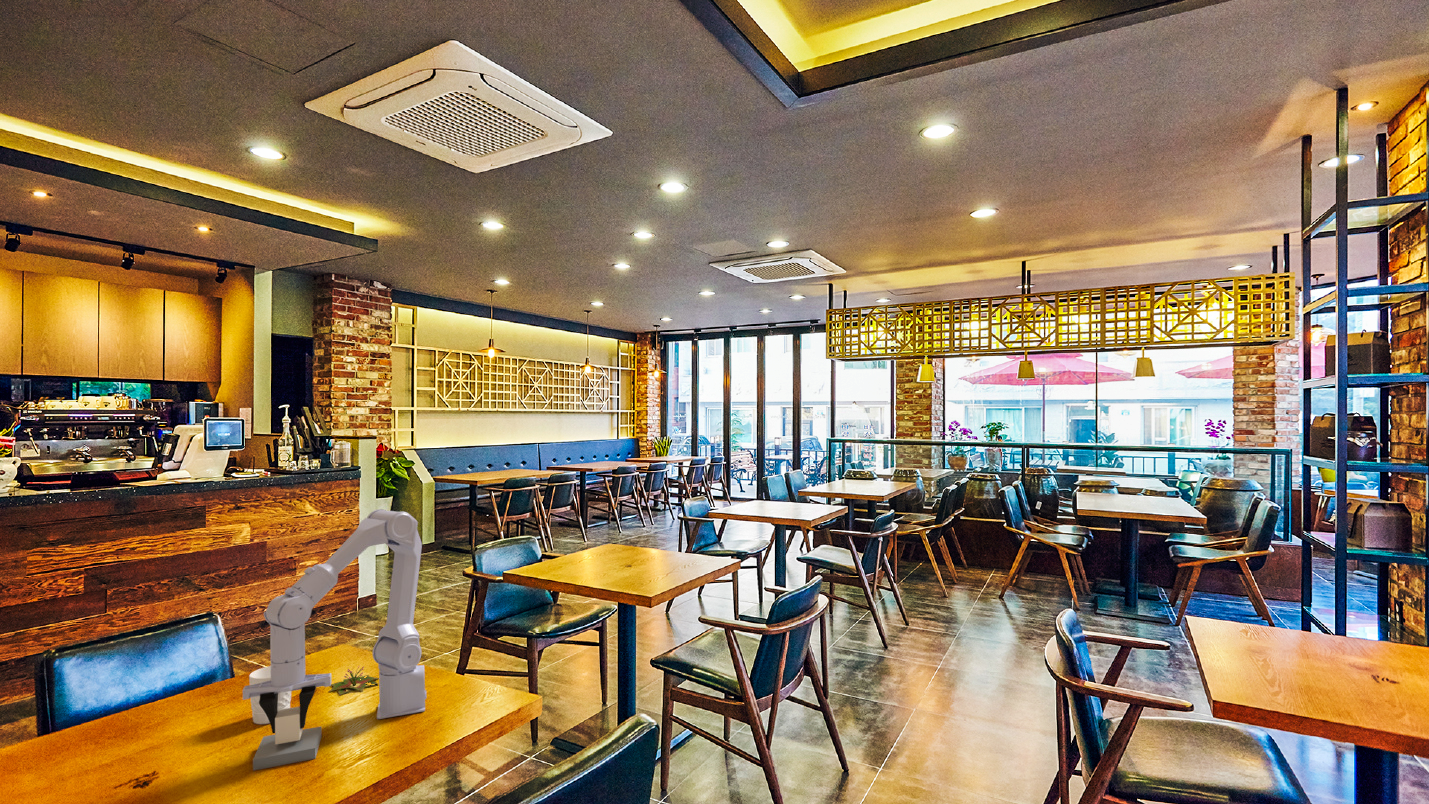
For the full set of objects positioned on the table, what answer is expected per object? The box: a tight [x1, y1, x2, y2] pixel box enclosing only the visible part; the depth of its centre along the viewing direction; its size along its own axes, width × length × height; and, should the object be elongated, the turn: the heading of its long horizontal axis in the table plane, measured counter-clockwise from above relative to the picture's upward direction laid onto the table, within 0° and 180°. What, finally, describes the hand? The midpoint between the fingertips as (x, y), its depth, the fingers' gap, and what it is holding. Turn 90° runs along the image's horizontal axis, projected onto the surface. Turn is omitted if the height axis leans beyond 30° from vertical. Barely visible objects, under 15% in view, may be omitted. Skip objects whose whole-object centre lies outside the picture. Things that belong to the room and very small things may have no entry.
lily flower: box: [327, 665, 379, 696], centre depth 166 cm, size 12×12×5 cm
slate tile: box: [252, 726, 323, 771], centre depth 133 cm, size 10×10×2 cm
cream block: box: [274, 706, 304, 745], centre depth 134 cm, size 4×4×5 cm
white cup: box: [248, 665, 292, 725], centre depth 149 cm, size 8×8×10 cm
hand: (288, 728), depth 133 cm, fingers closed on cream block, 4 cm apart
